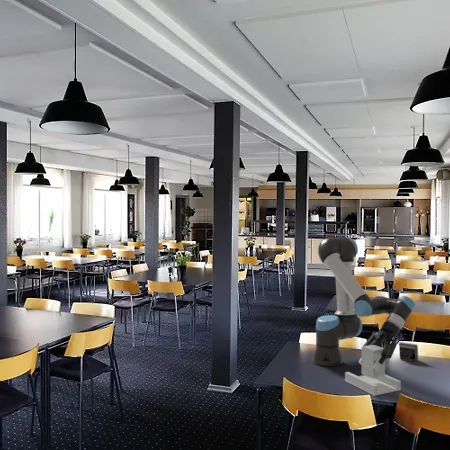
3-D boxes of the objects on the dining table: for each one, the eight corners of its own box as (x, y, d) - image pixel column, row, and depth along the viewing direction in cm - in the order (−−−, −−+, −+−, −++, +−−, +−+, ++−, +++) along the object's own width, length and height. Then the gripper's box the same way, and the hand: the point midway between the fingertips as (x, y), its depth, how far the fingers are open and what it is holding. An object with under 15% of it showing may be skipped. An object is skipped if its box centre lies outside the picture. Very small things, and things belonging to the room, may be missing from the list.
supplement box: (372, 379, 200) (372, 350, 200) (361, 374, 207) (360, 346, 207) (385, 376, 203) (385, 348, 203) (373, 371, 210) (373, 344, 210)
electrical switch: (418, 360, 241) (418, 343, 240) (416, 364, 237) (416, 346, 236) (400, 357, 246) (399, 340, 245) (397, 361, 242) (397, 344, 241)
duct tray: (345, 381, 211) (345, 372, 211) (370, 376, 217) (370, 367, 217) (374, 395, 194) (374, 386, 194) (400, 390, 200) (400, 381, 200)
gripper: (415, 335, 203) (390, 378, 196) (379, 326, 221) (355, 364, 214) (407, 325, 201) (381, 367, 193) (371, 316, 219) (346, 355, 211)
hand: (367, 366), depth 203 cm, fingers closed on supplement box, 7 cm apart
